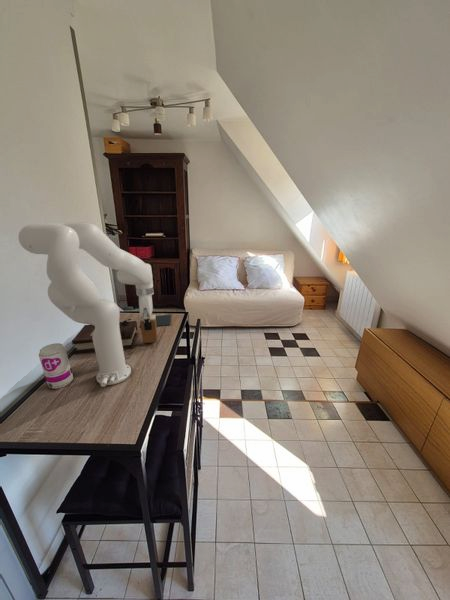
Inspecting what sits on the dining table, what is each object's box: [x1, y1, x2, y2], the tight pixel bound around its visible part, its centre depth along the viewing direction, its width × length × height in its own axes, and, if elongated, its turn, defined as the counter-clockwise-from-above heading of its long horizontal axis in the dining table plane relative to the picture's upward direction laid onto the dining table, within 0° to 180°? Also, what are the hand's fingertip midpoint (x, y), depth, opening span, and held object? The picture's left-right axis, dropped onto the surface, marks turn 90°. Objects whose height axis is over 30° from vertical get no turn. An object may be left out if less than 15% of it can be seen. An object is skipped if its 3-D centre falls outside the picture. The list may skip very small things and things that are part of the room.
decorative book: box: [71, 318, 141, 355], centre depth 122 cm, size 19×8×30 cm
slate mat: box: [139, 314, 171, 329], centre depth 146 cm, size 14×16×1 cm
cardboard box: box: [139, 314, 159, 344], centre depth 119 cm, size 5×7×12 cm
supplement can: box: [38, 342, 74, 390], centre depth 92 cm, size 8×8×15 cm
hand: (149, 326), depth 119 cm, fingers closed on cardboard box, 5 cm apart
